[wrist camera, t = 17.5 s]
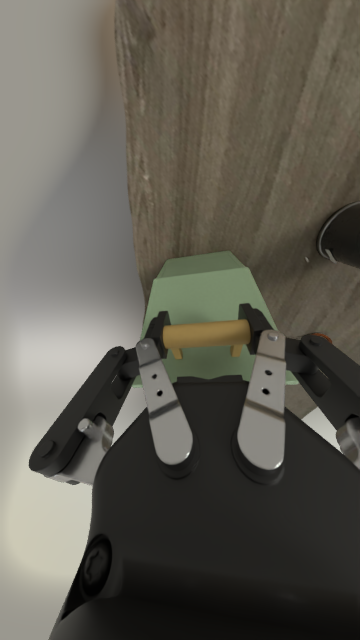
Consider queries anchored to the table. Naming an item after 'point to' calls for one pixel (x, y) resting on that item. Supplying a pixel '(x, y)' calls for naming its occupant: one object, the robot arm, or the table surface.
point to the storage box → (199, 264)
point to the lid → (207, 324)
